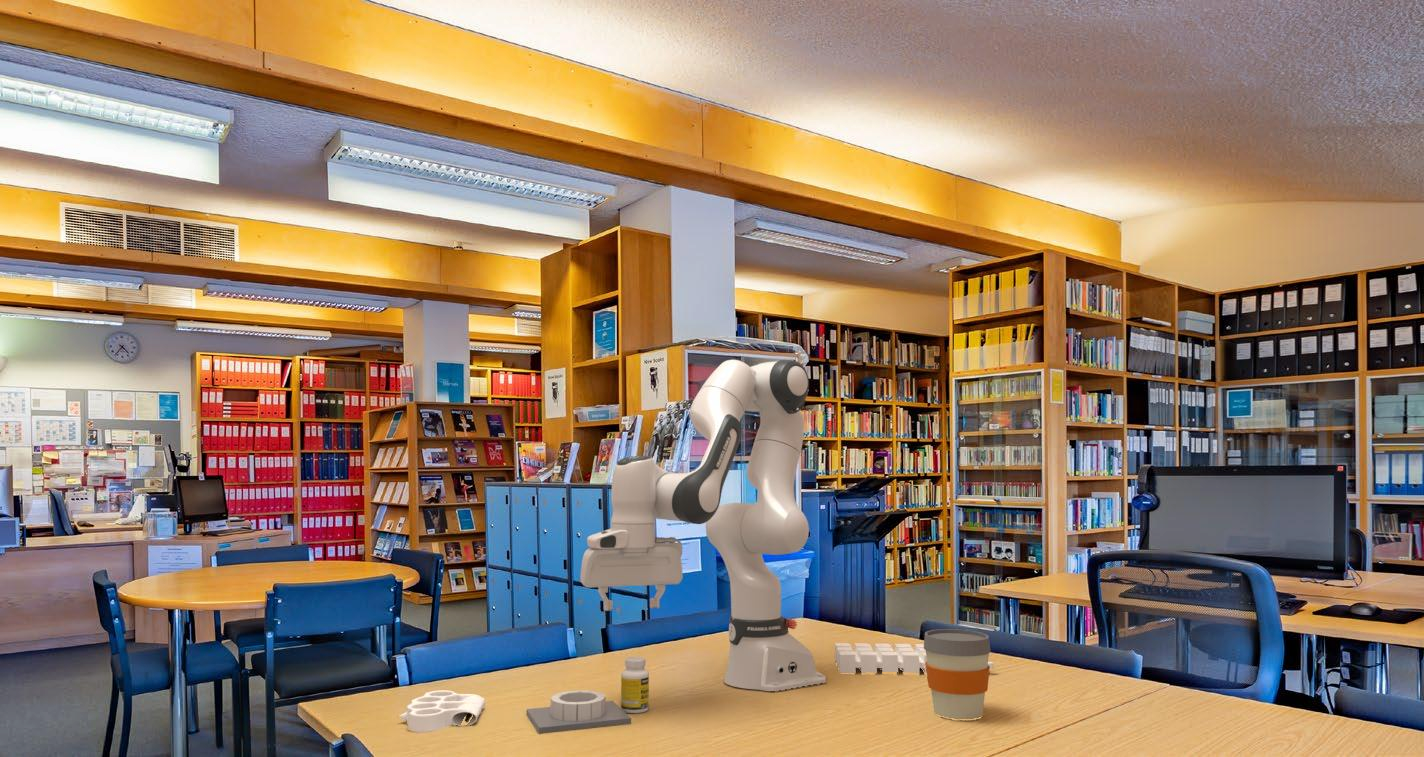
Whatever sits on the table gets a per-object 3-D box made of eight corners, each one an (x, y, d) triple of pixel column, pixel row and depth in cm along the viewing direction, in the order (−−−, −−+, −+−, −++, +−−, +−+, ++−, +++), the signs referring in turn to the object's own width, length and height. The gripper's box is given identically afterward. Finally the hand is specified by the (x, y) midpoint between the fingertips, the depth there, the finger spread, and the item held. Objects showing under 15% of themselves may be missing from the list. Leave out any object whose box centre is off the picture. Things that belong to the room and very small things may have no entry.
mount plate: (612, 705, 178) (613, 685, 179) (631, 723, 166) (631, 701, 167) (526, 714, 172) (527, 693, 173) (539, 733, 160) (539, 710, 161)
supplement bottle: (644, 714, 172) (644, 662, 173) (617, 713, 173) (617, 661, 174) (652, 707, 178) (652, 656, 178) (626, 705, 179) (625, 655, 180)
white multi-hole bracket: (473, 733, 162) (389, 735, 160) (487, 706, 180) (411, 708, 178) (474, 713, 162) (390, 716, 161) (487, 688, 180) (412, 691, 178)
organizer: (834, 643, 219) (980, 644, 217) (835, 663, 218) (980, 665, 217) (840, 654, 206) (994, 656, 204) (840, 676, 205) (995, 678, 204)
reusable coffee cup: (993, 709, 177) (991, 631, 178) (991, 726, 165) (989, 643, 166) (928, 703, 181) (926, 627, 182) (921, 720, 169) (919, 638, 170)
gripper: (677, 535, 185) (676, 604, 184) (579, 537, 178) (577, 609, 176) (687, 538, 179) (686, 608, 178) (586, 540, 172) (585, 613, 170)
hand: (631, 609), depth 177 cm, fingers open, 8 cm apart
